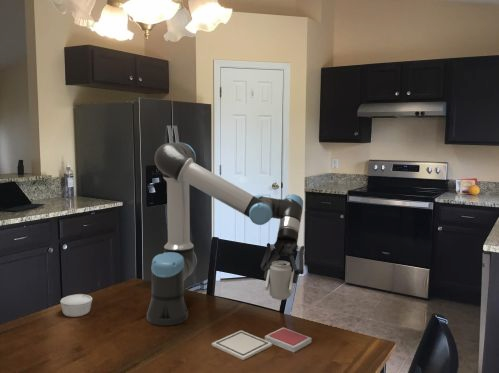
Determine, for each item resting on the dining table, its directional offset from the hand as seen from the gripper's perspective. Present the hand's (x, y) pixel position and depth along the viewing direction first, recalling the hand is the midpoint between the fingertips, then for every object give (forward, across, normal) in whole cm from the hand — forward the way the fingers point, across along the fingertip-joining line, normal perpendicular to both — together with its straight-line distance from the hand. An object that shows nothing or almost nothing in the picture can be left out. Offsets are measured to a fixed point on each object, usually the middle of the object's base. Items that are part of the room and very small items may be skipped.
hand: (278, 289), depth 154 cm
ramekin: (+13, +77, -10) cm, 79 cm away
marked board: (+18, +10, -6) cm, 22 cm away
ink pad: (+13, -4, -12) cm, 18 cm away
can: (0, 0, -5) cm, 5 cm away
